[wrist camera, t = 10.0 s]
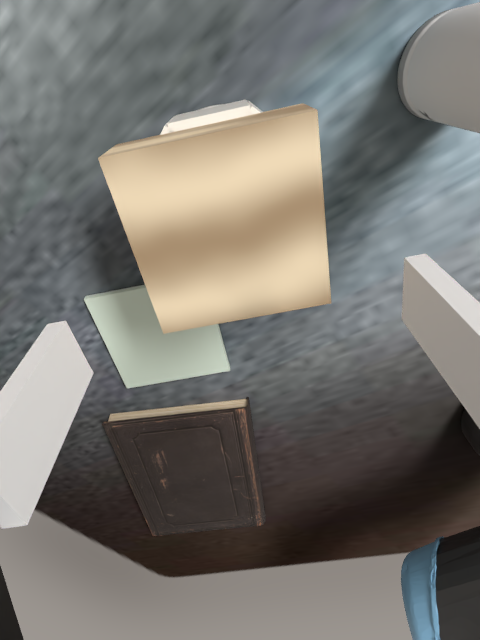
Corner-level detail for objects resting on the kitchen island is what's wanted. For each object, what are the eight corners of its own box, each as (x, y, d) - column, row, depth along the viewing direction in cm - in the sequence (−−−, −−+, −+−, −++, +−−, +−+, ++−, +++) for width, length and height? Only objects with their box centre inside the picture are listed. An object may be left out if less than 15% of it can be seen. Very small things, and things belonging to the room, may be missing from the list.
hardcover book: (155, 520, 56) (152, 536, 54) (107, 408, 44) (102, 424, 42) (264, 509, 56) (266, 525, 54) (248, 393, 43) (249, 408, 41)
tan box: (318, 274, 28) (331, 303, 24) (170, 302, 29) (163, 333, 25) (302, 103, 22) (317, 110, 18) (116, 144, 23) (98, 158, 19)
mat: (230, 367, 40) (230, 370, 40) (128, 384, 41) (126, 388, 40) (204, 273, 34) (204, 276, 34) (85, 296, 35) (83, 299, 34)
